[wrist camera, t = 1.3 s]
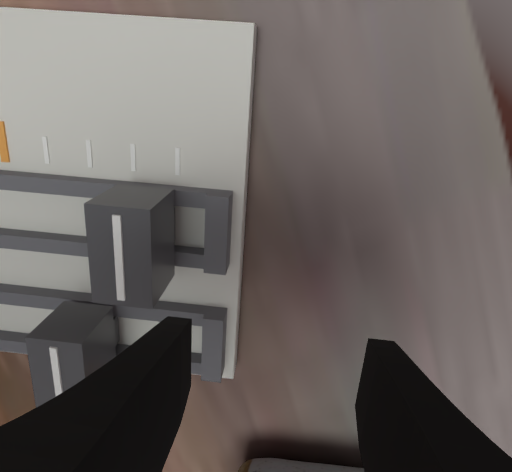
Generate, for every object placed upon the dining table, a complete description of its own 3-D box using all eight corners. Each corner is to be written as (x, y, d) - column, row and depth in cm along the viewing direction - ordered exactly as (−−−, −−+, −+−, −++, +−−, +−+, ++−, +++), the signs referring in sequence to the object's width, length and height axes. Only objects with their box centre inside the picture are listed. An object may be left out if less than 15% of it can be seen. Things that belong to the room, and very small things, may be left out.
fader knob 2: (133, 258, 20) (91, 303, 16) (129, 177, 18) (82, 204, 14) (181, 263, 20) (151, 310, 16) (181, 182, 18) (149, 210, 14)
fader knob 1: (83, 354, 22) (35, 414, 18) (76, 289, 21) (23, 338, 17) (126, 359, 22) (88, 421, 18) (122, 294, 21) (80, 345, 17)
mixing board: (-34, 332, 24) (-69, 358, 22) (-107, 3, 18) (-164, -8, 16) (236, 364, 23) (229, 394, 21) (256, 26, 17) (250, 18, 15)
